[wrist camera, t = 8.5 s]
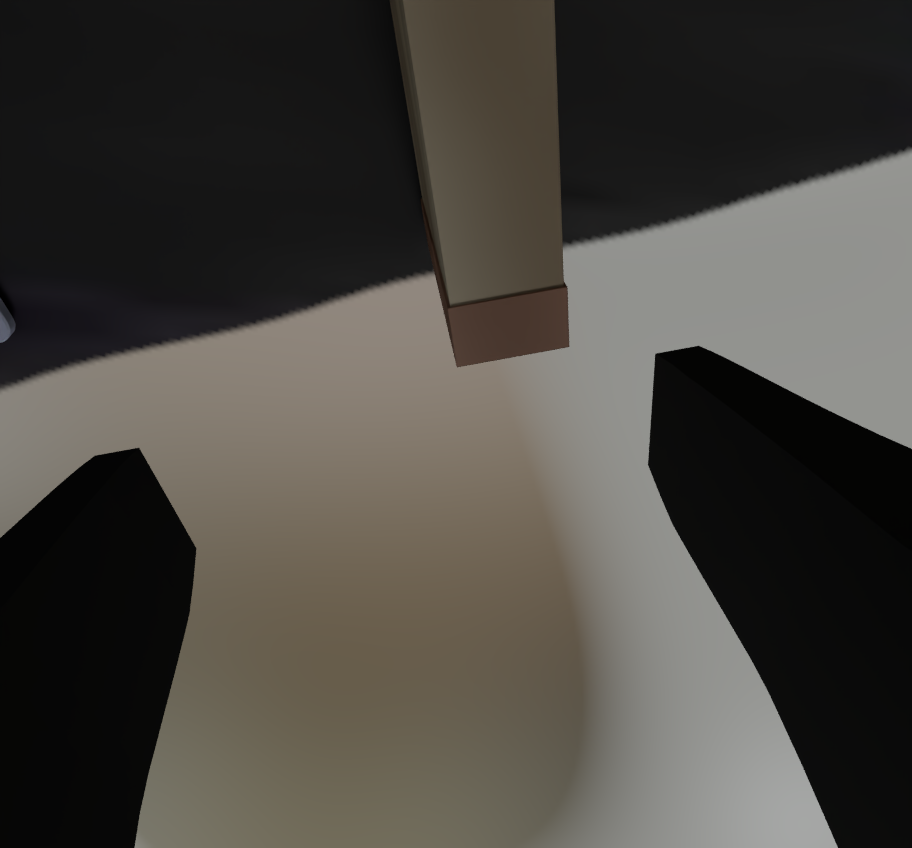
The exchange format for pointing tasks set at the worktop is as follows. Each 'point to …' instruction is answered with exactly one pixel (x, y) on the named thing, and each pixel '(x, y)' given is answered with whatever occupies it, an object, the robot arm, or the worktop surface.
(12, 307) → the worktop surface
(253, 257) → the worktop surface
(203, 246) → the worktop surface
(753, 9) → the worktop surface
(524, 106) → the brown-tipped cream rod
